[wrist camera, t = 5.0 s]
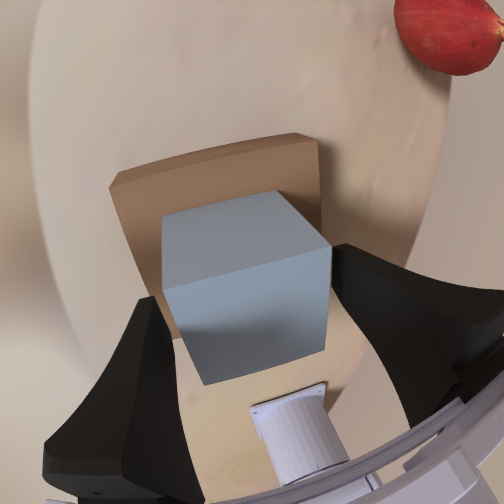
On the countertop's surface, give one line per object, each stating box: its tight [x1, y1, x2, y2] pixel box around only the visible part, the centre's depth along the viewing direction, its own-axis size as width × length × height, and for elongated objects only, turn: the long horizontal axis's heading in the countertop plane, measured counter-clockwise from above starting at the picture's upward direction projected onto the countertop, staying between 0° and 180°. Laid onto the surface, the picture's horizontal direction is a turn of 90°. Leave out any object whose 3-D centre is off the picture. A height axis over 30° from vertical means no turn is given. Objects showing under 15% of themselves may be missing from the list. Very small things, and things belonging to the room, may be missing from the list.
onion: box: [394, 0, 504, 76], centre depth 8 cm, size 6×6×8 cm
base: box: [109, 133, 321, 340], centre depth 15 cm, size 9×9×3 cm
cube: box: [162, 190, 332, 386], centre depth 12 cm, size 5×5×5 cm
